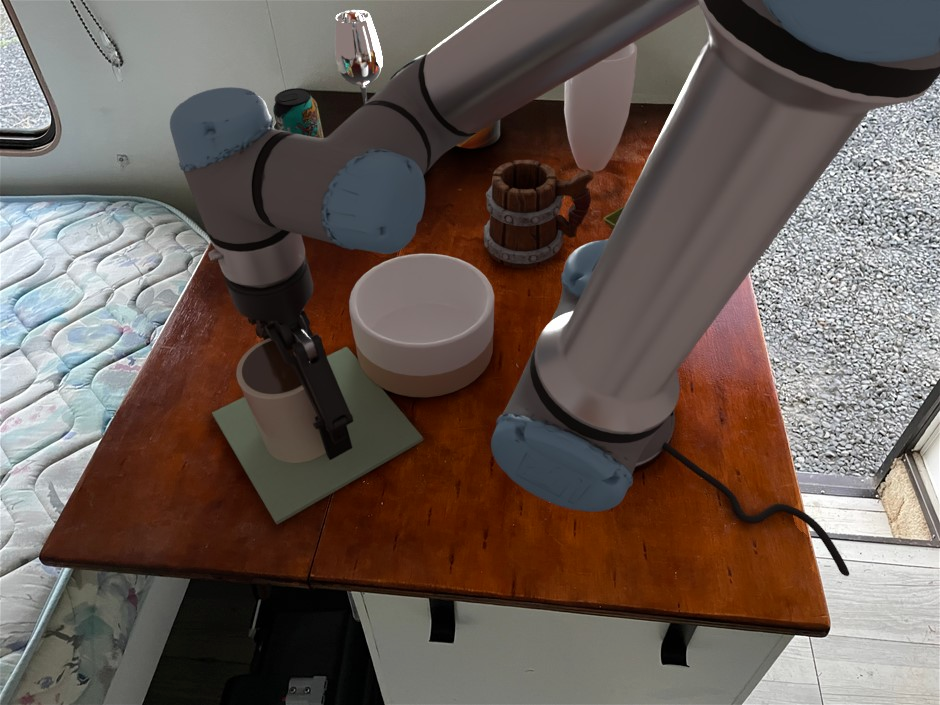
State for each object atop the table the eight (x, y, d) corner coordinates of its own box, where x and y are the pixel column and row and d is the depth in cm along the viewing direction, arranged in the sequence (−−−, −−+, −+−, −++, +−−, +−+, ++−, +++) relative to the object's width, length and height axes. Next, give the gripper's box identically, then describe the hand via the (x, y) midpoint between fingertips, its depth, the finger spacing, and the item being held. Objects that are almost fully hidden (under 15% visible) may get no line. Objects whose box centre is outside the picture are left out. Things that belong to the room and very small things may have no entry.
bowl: (517, 330, 92) (520, 280, 86) (447, 419, 81) (444, 368, 75) (407, 287, 98) (402, 237, 92) (328, 364, 87) (318, 314, 81)
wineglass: (399, 125, 130) (386, 12, 115) (373, 145, 125) (356, 29, 111) (366, 115, 133) (348, 4, 118) (339, 134, 128) (318, 20, 114)
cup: (626, 197, 111) (645, 62, 96) (559, 199, 112) (568, 64, 96) (617, 162, 118) (634, 30, 103) (555, 163, 119) (563, 32, 103)
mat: (423, 440, 80) (423, 437, 79) (276, 525, 73) (275, 522, 72) (347, 349, 90) (346, 346, 90) (212, 415, 83) (211, 412, 83)
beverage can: (332, 168, 120) (319, 101, 112) (291, 177, 119) (275, 110, 110) (322, 148, 125) (309, 82, 116) (283, 157, 123) (266, 91, 115)
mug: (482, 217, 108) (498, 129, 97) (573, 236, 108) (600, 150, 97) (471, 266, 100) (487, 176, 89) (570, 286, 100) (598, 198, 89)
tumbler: (250, 423, 82) (321, 388, 85) (282, 477, 76) (356, 438, 80) (222, 357, 74) (302, 322, 77) (256, 412, 68) (339, 371, 72)
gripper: (178, 216, 70) (237, 363, 85) (284, 362, 56) (333, 507, 71) (249, 189, 73) (294, 336, 88) (368, 321, 58) (397, 469, 74)
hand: (311, 412), depth 80 cm, fingers open, 13 cm apart
